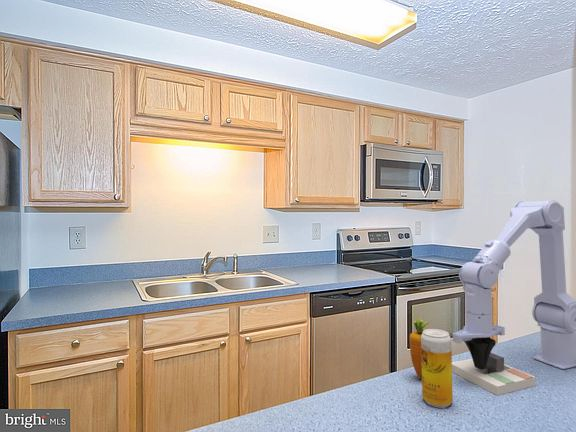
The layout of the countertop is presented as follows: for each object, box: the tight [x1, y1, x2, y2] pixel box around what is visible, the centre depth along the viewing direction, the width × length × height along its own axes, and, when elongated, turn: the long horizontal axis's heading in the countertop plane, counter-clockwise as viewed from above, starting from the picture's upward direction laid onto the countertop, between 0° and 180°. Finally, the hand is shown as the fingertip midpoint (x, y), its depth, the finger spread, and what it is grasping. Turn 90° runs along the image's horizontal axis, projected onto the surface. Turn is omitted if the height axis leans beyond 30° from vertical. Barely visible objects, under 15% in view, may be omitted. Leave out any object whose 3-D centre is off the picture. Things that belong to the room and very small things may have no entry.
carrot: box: [408, 317, 429, 380], centre depth 90 cm, size 5×5×15 cm
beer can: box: [421, 328, 454, 409], centre depth 79 cm, size 6×6×15 cm
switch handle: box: [486, 352, 505, 374], centre depth 90 cm, size 2×4×5 cm, turn 20°
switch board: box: [452, 357, 537, 396], centre depth 90 cm, size 12×14×2 cm
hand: (479, 368), depth 89 cm, fingers closed
